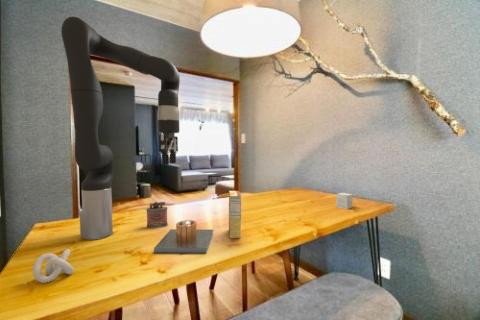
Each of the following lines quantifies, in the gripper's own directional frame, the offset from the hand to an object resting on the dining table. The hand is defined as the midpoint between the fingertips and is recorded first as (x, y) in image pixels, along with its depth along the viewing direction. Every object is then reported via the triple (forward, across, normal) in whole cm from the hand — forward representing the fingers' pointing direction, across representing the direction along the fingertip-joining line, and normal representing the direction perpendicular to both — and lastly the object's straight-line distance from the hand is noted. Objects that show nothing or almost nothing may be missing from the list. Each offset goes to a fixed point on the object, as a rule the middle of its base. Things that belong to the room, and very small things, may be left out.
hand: (169, 164), depth 85 cm
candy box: (+26, 0, +24) cm, 36 cm away
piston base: (+26, +8, +8) cm, 28 cm away
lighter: (+26, -8, -8) cm, 29 cm away
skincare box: (+26, -38, +81) cm, 93 cm away
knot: (+26, +29, -19) cm, 43 cm away
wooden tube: (+24, +8, +8) cm, 27 cm away
